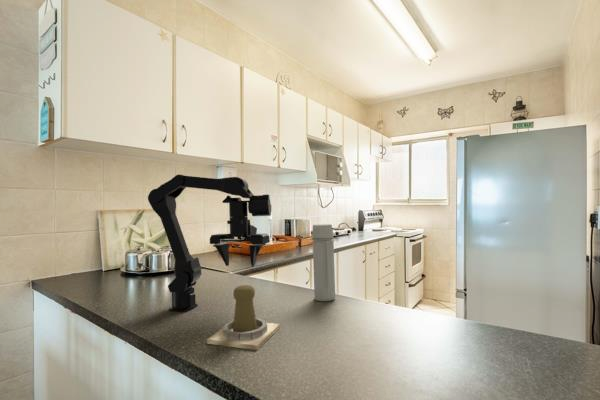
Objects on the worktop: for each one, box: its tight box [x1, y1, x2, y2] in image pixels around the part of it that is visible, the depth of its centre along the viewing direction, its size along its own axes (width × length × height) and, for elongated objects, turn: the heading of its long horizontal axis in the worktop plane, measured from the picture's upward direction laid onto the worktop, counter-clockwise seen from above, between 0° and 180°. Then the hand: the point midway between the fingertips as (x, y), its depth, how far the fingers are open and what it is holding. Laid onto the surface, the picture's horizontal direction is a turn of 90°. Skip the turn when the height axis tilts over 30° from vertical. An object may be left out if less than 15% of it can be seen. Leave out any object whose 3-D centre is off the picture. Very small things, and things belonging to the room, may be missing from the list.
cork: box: [233, 284, 257, 332], centre depth 77 cm, size 6×6×11 cm
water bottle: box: [311, 223, 336, 302], centre depth 104 cm, size 9×8×25 cm
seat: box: [206, 317, 281, 351], centre depth 76 cm, size 13×13×2 cm
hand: (240, 266), depth 99 cm, fingers open, 9 cm apart
